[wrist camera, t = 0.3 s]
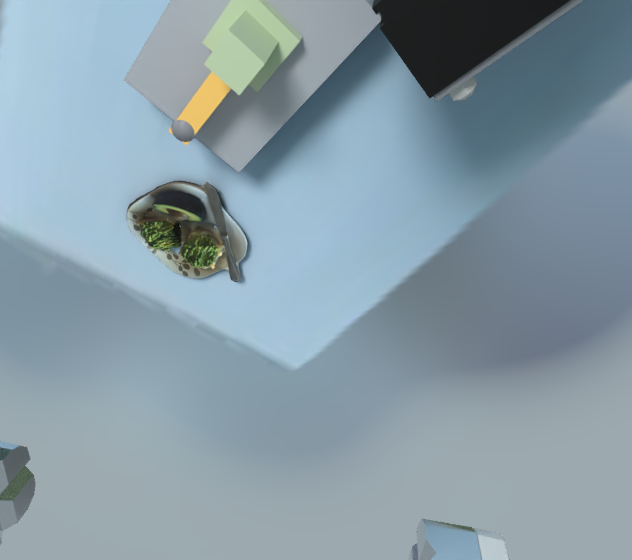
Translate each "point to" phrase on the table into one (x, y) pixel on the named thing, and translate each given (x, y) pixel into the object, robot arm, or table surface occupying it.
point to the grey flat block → (250, 106)
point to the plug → (249, 43)
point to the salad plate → (188, 229)
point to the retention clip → (199, 108)
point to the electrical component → (460, 36)
